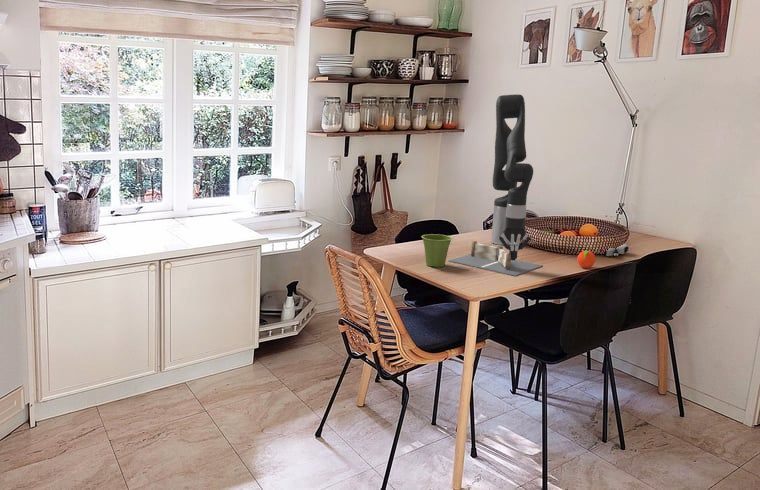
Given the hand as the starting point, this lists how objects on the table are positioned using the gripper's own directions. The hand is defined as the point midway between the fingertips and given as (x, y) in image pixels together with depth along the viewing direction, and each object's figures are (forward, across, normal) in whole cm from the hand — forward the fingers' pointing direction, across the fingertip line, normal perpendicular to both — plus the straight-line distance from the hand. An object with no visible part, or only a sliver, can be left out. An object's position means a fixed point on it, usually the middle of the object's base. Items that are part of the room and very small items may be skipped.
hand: (512, 259), depth 258 cm
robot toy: (+5, -51, -29) cm, 59 cm away
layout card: (+4, +5, -7) cm, 10 cm away
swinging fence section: (+3, +3, -4) cm, 5 cm away
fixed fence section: (+4, +8, -14) cm, 16 cm away
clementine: (+4, -30, -4) cm, 31 cm away
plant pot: (+3, +30, -3) cm, 30 cm away
